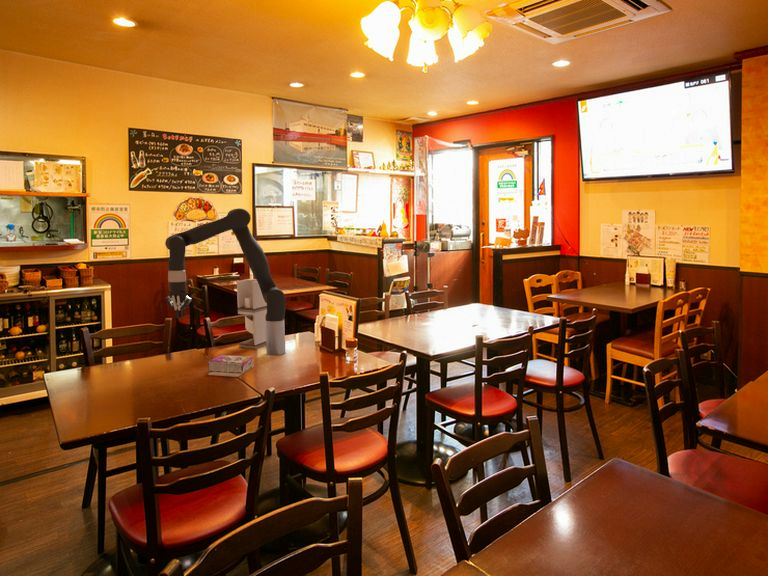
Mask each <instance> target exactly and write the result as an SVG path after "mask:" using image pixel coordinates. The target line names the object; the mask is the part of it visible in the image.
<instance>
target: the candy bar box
mask: <svg viewBox="0 0 768 576" xmlns="http://www.w3.org/2000/svg"><path fill="white" fill-rule="evenodd" d="M253 365H254V356H246V355H245V356H243V355H223V354H220V355H219V356H217V357H215V358H212V359H211V360H208V371H209V372H212V371H215V372H231V373H243V372H245V371H247V370H248V371H250V370H251V369H253V368H254V367H253ZM252 367H253V368H252ZM250 368H251V369H250ZM249 369H250V370H249ZM248 371H247V372H248ZM245 373H246V372H245ZM243 374H244V373H243Z"/></svg>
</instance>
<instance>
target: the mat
mask: <svg viewBox="0 0 768 576" xmlns="http://www.w3.org/2000/svg"><path fill="white" fill-rule="evenodd" d="M253 368H255V365H254V364H253V367H252V368H250V369H249V370H247V371H245V372H243V373H231V372H215V371H209V373H208V376H218V377H219V376H222V377H231V378H232V377H235V378H238V377H240V376H241V375H243V374H245V373H246V372H248V371H250V370H252V369H253Z"/></svg>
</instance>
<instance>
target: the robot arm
mask: <svg viewBox="0 0 768 576" xmlns="http://www.w3.org/2000/svg"><path fill="white" fill-rule="evenodd" d="M251 218H252V217H251V214H250V212H249V211H248V210H246V209H244V208H233V209H230V210H228V213H227V215H226V216H223V217H222V218H219V219H216V220H213V221H210V222H209V221H208V222H205V223H204V224H203V223H202V224H200V225H196V226H195V227H192V228H189V229H187V230H186V231H181V232H179V233H176V234H171V235H170V236H168V237H167V238H166V240H165V242H164V245H165V247H166V249H168V250H169V258H168V260H167V270H168V272H167V274H168V275H167V280H168V281H167V284H168V291H169V293H168V296H167V297H165V298H164V300H165V301H166V303H167V304H168V306H169V307H170V309H171V310H172V309H173V310H174V311H175V317H176V319H179V320H180V319H183V317H184V310H185V309H187V308H188V306H189V305H190V304H191V302H192V300H193V298H192V297H189V296H188V293H187V290H188V288H187V287H188V286H187V273H186V263H185V258H186V247H188V246H191V245H196V244H199V243H201V242H204V241H207V240H209V239H211V238H213V237H215V236H217V235H220V234H224V233H225V232H228V231H232V232H233V234H234V236H235V238H236V239H237V242H238V244H239V247H240V249H241V251H242V253H243V257H244V258H245V261H246V262H247V265H248V267H249V269H250V271H251V273H252V275H253V276H254V279H256V280H257V282H258V284H259V287H260V289H261V292H262V296H263V299H264V301H265V302H266V303H267V314H266V316H265V319H266V345H265V346H266V349H265V350H266V355H267V356H280V355H284V354H286V338H285V337H286V334H285V330H286V329H285V327H286V326H285V315H286V295H285V293H284V292H283V290H282V289H279V288H278V286H277V285H276V283H275V281H274V279H273V277H272V273H271V270H270V265H269V262H268V258H267V256H266V254H265V252H264V250H263V248H262V246H261V245H260V244H259V242H258V241H257V240H256V238H254V236H253V234H252V233H251V231H250V229H249V226H248V225H249V224H250V222H251Z"/></svg>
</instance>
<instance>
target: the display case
mask: <svg viewBox="0 0 768 576" xmlns="http://www.w3.org/2000/svg"><path fill="white" fill-rule="evenodd" d="M236 296H237V297H236V298H237V301H236V302H237V314H238V315H244V322H245V326H244V327H245V330H246V332H248V333H250V334H252V338H250V339H246V340H244V341H241V342H239V346H238V347H239V348H246V349H254V350H255V349H256V350H257V349H259V348H262V347H264V346H266V319H265V316H266V314H267V303H266V302H265V301H264V299H263V296H262V292H261V289H260V287H259V284H258V282H257V280H256V278H248V279H242V280H237V281H236Z"/></svg>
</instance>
